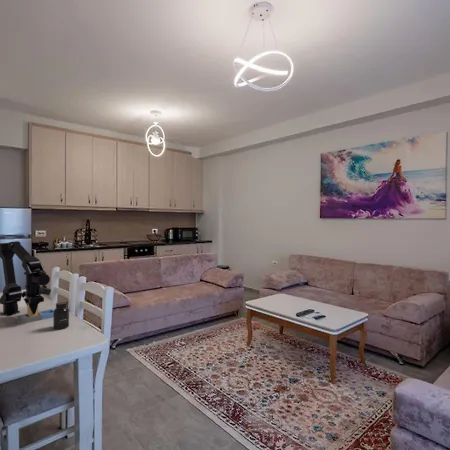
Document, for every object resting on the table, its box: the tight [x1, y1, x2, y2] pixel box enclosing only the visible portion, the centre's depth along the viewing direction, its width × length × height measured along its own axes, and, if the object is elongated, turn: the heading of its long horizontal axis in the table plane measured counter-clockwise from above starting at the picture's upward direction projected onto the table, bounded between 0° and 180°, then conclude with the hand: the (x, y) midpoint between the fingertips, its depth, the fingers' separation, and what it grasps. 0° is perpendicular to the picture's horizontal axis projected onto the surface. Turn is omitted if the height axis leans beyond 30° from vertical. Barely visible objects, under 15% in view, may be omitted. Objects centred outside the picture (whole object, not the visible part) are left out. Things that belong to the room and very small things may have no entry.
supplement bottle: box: [52, 301, 70, 330], centre depth 152 cm, size 7×7×12 cm
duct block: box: [16, 307, 56, 325], centre depth 166 cm, size 19×8×2 cm, turn 135°
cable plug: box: [26, 302, 39, 317], centre depth 163 cm, size 4×4×9 cm
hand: (32, 312), depth 164 cm, fingers open, 5 cm apart
